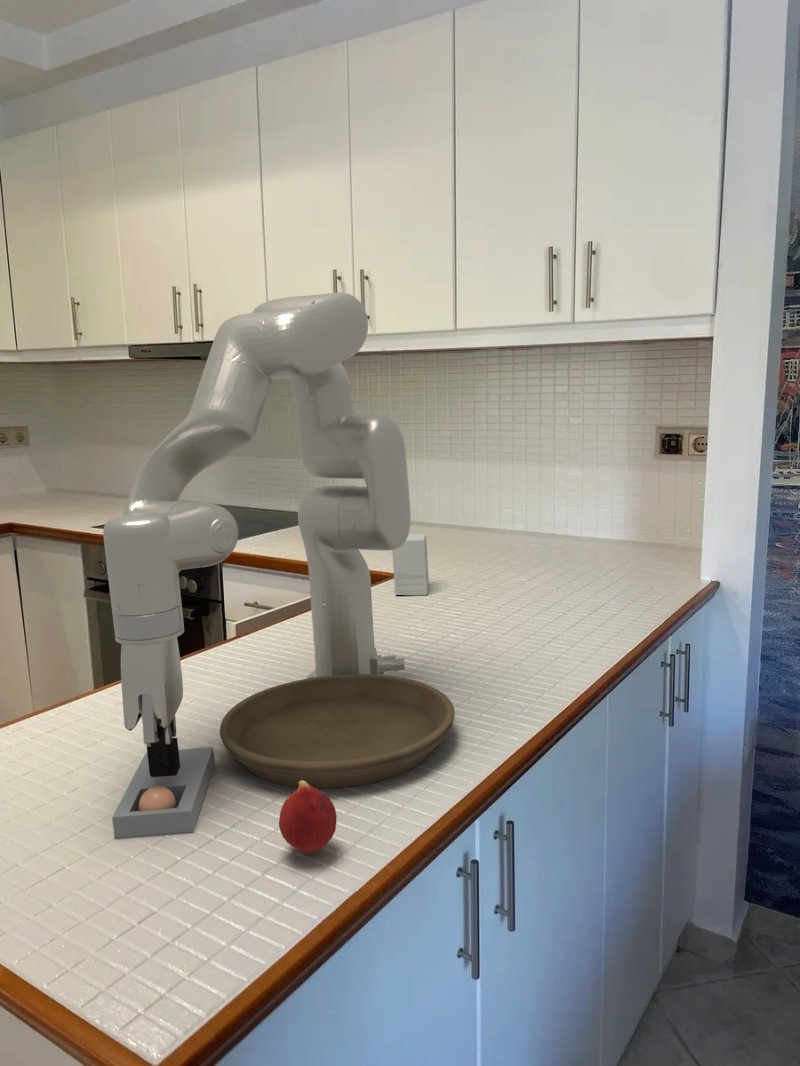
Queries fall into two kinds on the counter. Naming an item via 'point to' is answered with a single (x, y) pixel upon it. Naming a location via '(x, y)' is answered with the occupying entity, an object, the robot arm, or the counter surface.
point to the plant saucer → (337, 729)
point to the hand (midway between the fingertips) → (165, 772)
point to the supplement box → (411, 566)
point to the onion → (307, 819)
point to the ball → (157, 799)
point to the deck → (184, 786)
